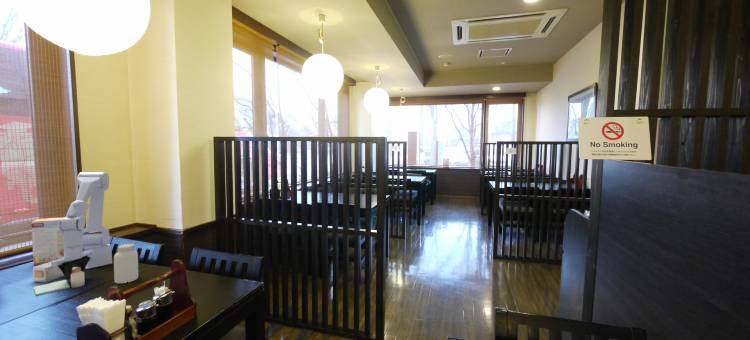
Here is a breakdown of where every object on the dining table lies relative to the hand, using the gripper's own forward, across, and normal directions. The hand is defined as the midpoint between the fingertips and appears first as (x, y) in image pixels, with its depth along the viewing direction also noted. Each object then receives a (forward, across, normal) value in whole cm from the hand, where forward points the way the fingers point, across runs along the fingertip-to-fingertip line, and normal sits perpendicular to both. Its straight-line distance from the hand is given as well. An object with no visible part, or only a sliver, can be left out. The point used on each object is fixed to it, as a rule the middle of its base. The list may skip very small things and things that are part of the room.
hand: (74, 276), depth 129 cm
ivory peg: (+2, +3, +6) cm, 7 cm away
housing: (+1, 0, -12) cm, 12 cm away
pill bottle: (+2, -5, +20) cm, 21 cm away
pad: (+1, +8, -1) cm, 8 cm away
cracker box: (+2, -15, -31) cm, 34 cm away
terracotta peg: (+1, 0, 0) cm, 1 cm away
